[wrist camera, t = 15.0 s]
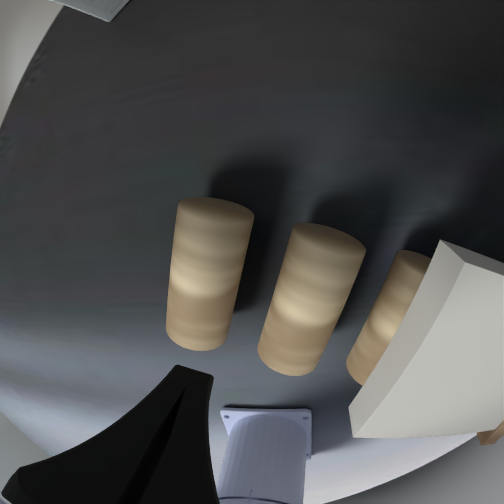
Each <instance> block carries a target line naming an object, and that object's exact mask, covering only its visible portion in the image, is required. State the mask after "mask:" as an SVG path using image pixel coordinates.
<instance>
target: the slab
mask: <svg viewBox="0 0 504 504" xmlns="http://www.w3.org/2000/svg"><path fill="white" fill-rule="evenodd" d="M348 408H349V414H350V421H351V428H352V435H353V437H356V438H421V437H438V436H450V435H459V434H468V433H476V432H483V431H489V430H495V429H496V428H497V427H498V426H499V425H500V424H501V423H502V422H503V421H504V263H502V262H499V261H497V260H494V259H492V258H489V257H487V256H484V255H481V254H479V253H476V252H473V251H471V250H468V249H465V248H462V247H460V246H457V245H454V244H451V243H449V242H446V241H443V240H440V241H439V243H438V246H437V248H436V251H435V253H434V255H433V258H432V260H431V262H430V265H429V267H428V269H427V271H426V274H425V276H424V278H423V280H422V282H421V284H420V286H419V288H418V291H417V293H416V295H415V297H414V299H413V301H412V303H411V305H410V307H409V309H408V310H407V312H406V314H405V316H404V318H403V320H402V322H401V324H400V325H399V327H398V329H397V331H396V333H395V334H394V336H393V338H392V340H391V341H390V343H389V345H388V347H387V348H386V350H385V352H384V353H383V355H382V357H381V358H380V360H379V362H378V363H377V365H376V366H375V368H374V370H373V371H372V373H371V374H370V376H369V377H368V379H367V381H366V382H365V384H364V385H363V387H362V388H361V390H360V391H359V393H358V394H357V395H356V397H355V398H354V400H353V401H352V403H351V404H350V405H349V407H348Z"/></svg>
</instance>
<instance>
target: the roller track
mask: <svg viewBox="0 0 504 504" xmlns="http://www.w3.org/2000/svg"><path fill="white" fill-rule="evenodd" d="M253 221H254V214H253V213H252V212H251V211H250V210H249V209H247V208H246V207H244V206H242V205H239V204H237V203H234V202H231V201H227V200H223V199H217V198H210V197H191V198H186V199H183V200H181V201H180V202H179V203H178V208H177V216H176V223H175V232H174V240H173V249H172V259H171V269H170V279H169V291H168V304H167V318H166V331H167V333H168V335H169V337H170V338H171V339H172V340H173V341H174V342H175V343H177V344H178V345H180V346H182V347H184V348H187V349H191V350H197V351H206V350H211V349H215V348H217V347H219V346H221V345H222V344H223V343H224V342H225V341H226V339H227V336H228V332H229V327H230V323H231V318H232V314H233V309H234V305H235V301H236V296H237V292H238V287H239V283H240V278H241V274H242V270H243V265H244V261H245V256H246V252H247V248H248V243H249V239H250V234H251V230H252V226H253ZM365 253H366V249H365V247H364V246H363V244H362V243H361V242H359V241H358V240H357V239H355V238H354V237H352V236H350V235H348V234H346V233H344V232H342V231H340V230H337V229H334V228H331V227H328V226H324V225H320V224H315V223H298V224H295V225H294V226H293V228H292V231H291V235H290V239H289V242H288V246H287V249H286V253H285V256H284V260H283V263H282V267H281V270H280V274H279V277H278V281H277V284H276V287H275V291H274V294H273V297H272V301H271V304H270V308H269V311H268V314H267V317H266V321H265V324H264V327H263V331H262V334H261V337H260V340H259V344H258V354H259V356H260V358H261V359H262V361H263V362H264V363H265V364H266V365H267V366H268V367H270V368H271V369H273V370H275V371H277V372H279V373H282V374H285V375H290V376H300V375H305V374H308V373H310V372H311V371H313V370H314V369H315V367H316V366H317V364H318V362H319V360H320V358H321V356H322V354H323V351H324V349H325V347H326V345H327V343H328V341H329V339H330V337H331V334H332V332H333V330H334V328H335V326H336V323H337V321H338V319H339V317H340V314H341V312H342V310H343V308H344V305H345V303H346V301H347V298H348V296H349V293H350V291H351V289H352V286H353V284H354V281H355V279H356V276H357V274H358V271H359V269H360V266H361V264H362V261H363V258H364V256H365ZM431 260H432V259H431V258H429V257H427V256H424V255H422V254H419V253H416V252H413V251H408V250H399V251H397V253H396V255H395V258H394V260H393V263H392V265H391V267H390V270H389V272H388V274H387V277H386V279H385V281H384V284H383V286H382V288H381V290H380V293H379V295H378V297H377V299H376V301H375V303H374V306H373V308H372V310H371V312H370V314H369V316H368V318H367V320H366V322H365V324H364V326H363V328H362V330H361V332H360V334H359V336H358V338H357V340H356V342H355V344H354V346H353V348H352V350H351V352H350V353H349V355H348V357H347V360H346V366H347V369H348V372H349V373H350V375H351V376H352V377H353V379H354V380H356V381H357V382H358V383H359V384H361V385H362V386H363V385H364V384H365V382H366V381H367V379H368V377H369V376H370V374H371V373H372V371H373V370H374V368H375V366H376V365H377V363H378V362H379V360H380V358H381V357H382V355H383V353H384V352H385V350H386V348H387V347H388V345H389V343H390V341H391V340H392V338H393V336H394V334H395V333H396V331H397V329H398V327H399V325H400V324H401V322H402V320H403V318H404V316H405V314H406V312H407V310H408V309H409V307H410V305H411V303H412V301H413V299H414V297H415V295H416V293H417V291H418V288H419V286H420V284H421V282H422V280H423V278H424V276H425V274H426V271H427V269H428V267H429V265H430V262H431Z"/></svg>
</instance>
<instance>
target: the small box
mask: <svg viewBox="0 0 504 504" xmlns="http://www.w3.org/2000/svg"><path fill="white" fill-rule="evenodd" d="M49 1H53V2H56V3H60V4H63V5H66V6H68V7H71V8H74V9H77V10H79V11H82V12H84V13H87V14H90V15H92V16H95V17H97V18H100V19H102V20H104V21H107V22H110V21H111V20H112V19H113V18H114V17H115V16H116V14H117V13H118V12H119V11H120V10H121V9H122V8H123V7H124V6H125V5H126V4H127V2H128V1H129V0H49Z"/></svg>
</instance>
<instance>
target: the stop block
mask: <svg viewBox="0 0 504 504" xmlns="http://www.w3.org/2000/svg"><path fill="white" fill-rule="evenodd" d="M503 434H504V421H503V422H502V423H501V424H500V425H499V426H498V427H497V428H496V429H495V430H489V431H483V432H477V435H478V438H479V441H480V444H481V445H487V444H493V443H495V442H496V441H497V440H498V439H499V438H500V437H501V436H502V435H503Z"/></svg>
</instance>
